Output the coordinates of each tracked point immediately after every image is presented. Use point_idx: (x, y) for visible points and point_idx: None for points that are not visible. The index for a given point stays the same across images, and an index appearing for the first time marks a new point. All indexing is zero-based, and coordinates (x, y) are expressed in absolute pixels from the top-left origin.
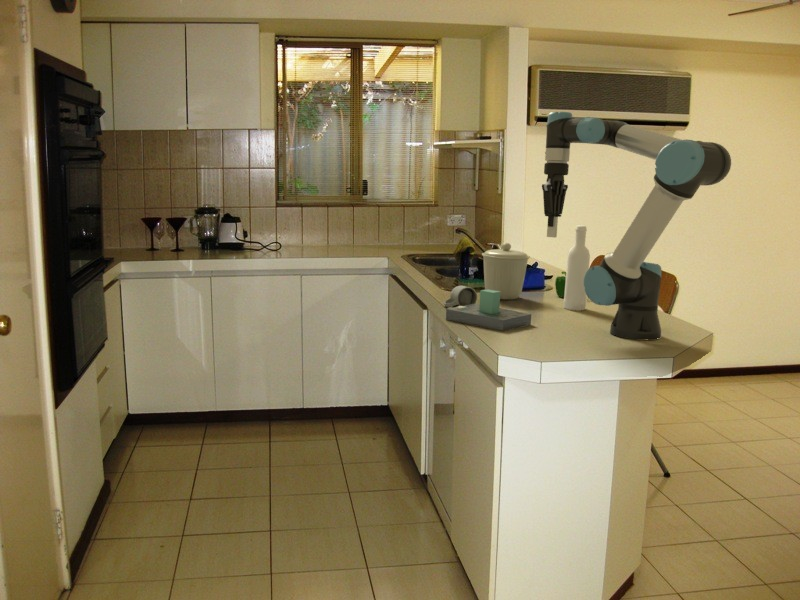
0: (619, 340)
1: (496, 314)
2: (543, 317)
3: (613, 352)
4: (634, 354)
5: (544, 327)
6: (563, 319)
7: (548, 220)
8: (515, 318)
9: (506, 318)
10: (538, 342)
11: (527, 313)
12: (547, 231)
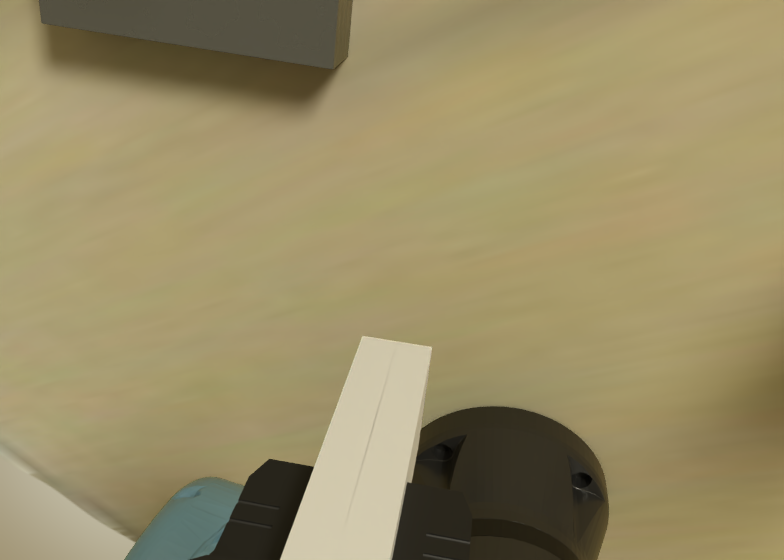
0: None
1: None
2: (633, 18)
3: (147, 476)
4: None
5: (345, 141)
6: (653, 140)
7: (218, 551)
8: (164, 41)
9: (93, 14)
10: (42, 237)
11: (330, 41)
12: (343, 389)
